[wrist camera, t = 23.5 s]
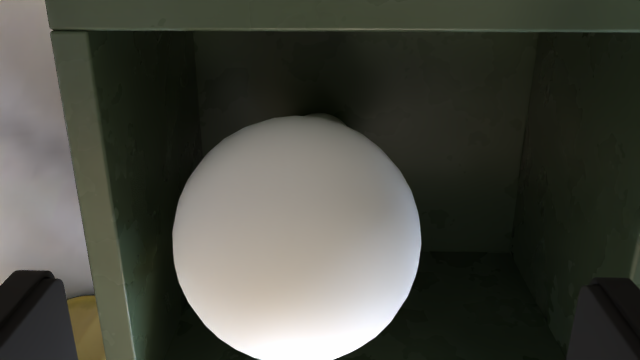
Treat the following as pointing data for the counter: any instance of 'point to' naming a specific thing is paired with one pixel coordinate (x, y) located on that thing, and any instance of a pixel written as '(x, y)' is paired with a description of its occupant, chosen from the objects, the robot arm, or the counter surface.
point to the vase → (86, 328)
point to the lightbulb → (296, 239)
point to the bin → (383, 130)
